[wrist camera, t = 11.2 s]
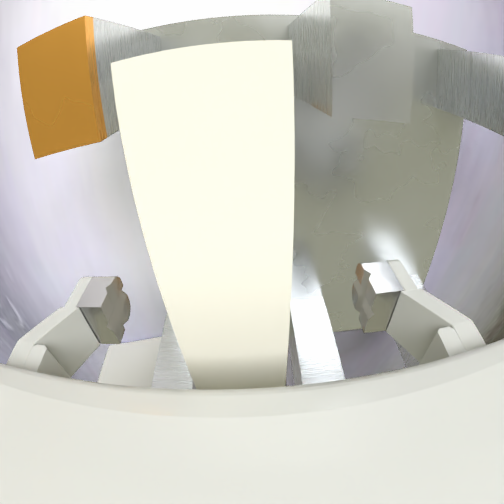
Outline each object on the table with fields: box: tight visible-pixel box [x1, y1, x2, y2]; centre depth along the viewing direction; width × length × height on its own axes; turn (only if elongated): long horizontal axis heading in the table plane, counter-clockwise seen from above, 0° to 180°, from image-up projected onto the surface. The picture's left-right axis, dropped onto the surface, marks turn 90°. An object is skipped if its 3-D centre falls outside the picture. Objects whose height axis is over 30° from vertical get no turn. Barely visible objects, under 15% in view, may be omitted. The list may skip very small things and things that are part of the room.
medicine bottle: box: [98, 337, 161, 388], centre depth 18 cm, size 7×7×12 cm
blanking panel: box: [111, 40, 295, 390], centre depth 10 cm, size 2×14×8 cm, turn 3°
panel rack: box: [17, 0, 504, 389], centre depth 12 cm, size 16×18×8 cm
